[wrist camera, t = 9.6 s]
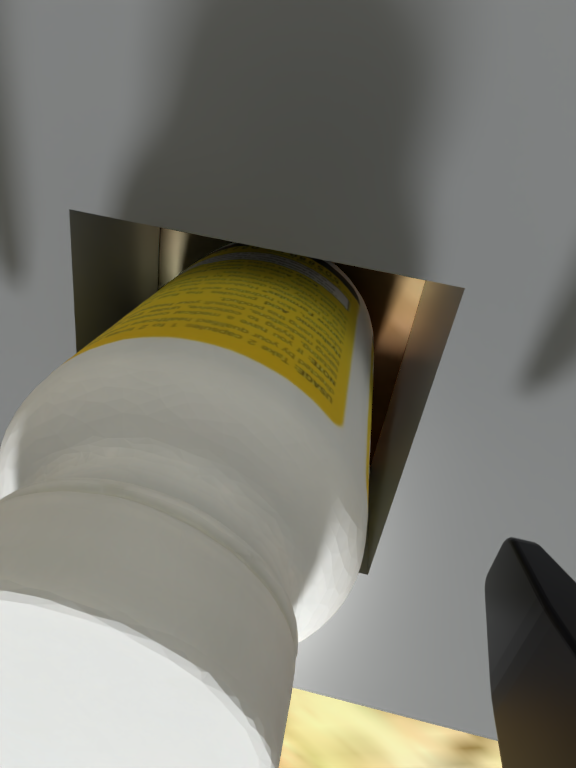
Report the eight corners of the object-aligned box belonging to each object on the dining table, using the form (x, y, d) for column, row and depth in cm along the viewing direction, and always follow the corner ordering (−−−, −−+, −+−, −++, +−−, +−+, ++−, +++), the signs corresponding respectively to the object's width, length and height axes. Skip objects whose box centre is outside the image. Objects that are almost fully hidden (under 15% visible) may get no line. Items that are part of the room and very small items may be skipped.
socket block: (21, 499, 17) (-68, 593, 14) (-57, -109, 10) (-297, -239, 6) (477, 610, 16) (504, 742, 13) (782, 22, 9) (1050, -48, 5)
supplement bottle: (138, 274, 13) (-337, 564, 4) (337, 201, 11) (207, 432, 3) (220, 443, 15) (9, 867, 6) (398, 402, 13) (434, 892, 5)
